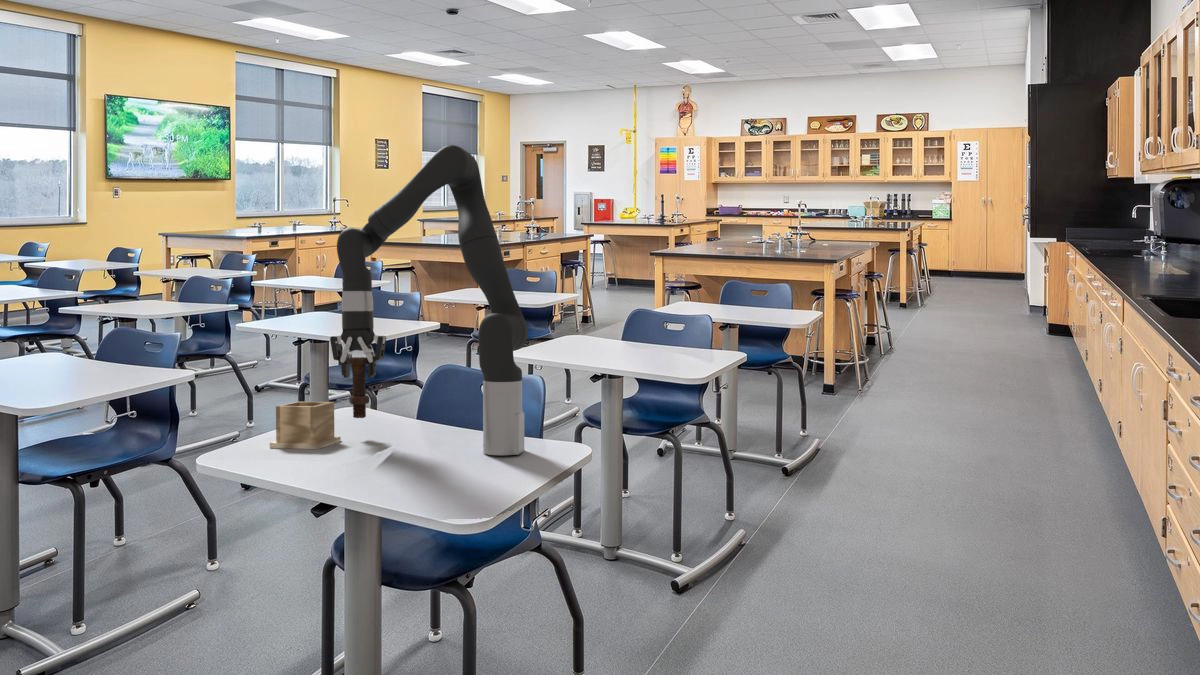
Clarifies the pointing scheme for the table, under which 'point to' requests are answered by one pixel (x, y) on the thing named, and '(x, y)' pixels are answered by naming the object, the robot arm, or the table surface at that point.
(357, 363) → the bolt
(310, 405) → the socket block
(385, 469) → the table surface
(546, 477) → the table surface
